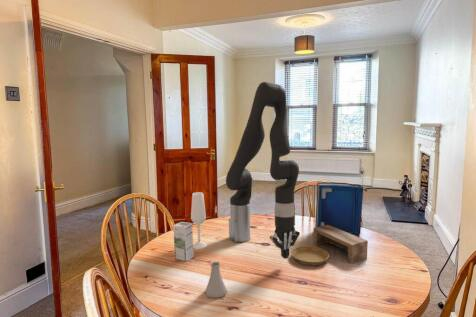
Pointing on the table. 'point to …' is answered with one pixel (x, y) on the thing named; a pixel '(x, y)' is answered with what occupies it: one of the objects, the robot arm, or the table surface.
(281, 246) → the robot arm
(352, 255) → the walnut shelf
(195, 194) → the champagne flute
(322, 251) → the plant saucer
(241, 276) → the table surface
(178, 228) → the syrup box
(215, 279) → the flask
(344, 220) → the book
